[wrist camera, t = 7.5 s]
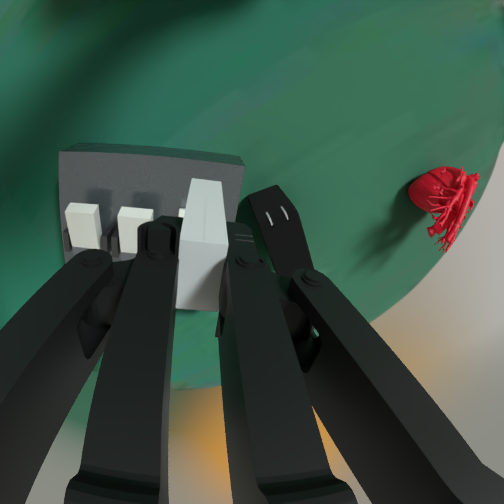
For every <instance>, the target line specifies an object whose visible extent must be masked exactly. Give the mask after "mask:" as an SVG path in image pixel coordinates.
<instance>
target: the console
mask: <svg viewBox="0 0 504 504" xmlns="http://www.w3.org/2000/svg"><path fill="white" fill-rule="evenodd" d="M244 170H245V165H244V163H243V162H242V160H241V158H240V156H233V155H226V154H219V153H211V152H203V151H194V150H185V149H175V148H165V147H153V146H139V145H122V144H98V143H78V144H76V145H73V146H71V147H68V148H66V149H64V150H61V151H59V202H60V218H61V231H62V241H63V249H64V257H65V264H66V263H67V262H68V261H69V260H70V259H71V258H73V257H74V253H73V249H72V243H71V239H70V235H69V230H68V226H67V221H66V216H65V210H66V209H67V207H68V205H69V204H70V203H84V204H97V205H98V206H99V215H100V222H101V230H102V235H101V248H102V250H104V251H107V252H109V253H110V255H111V256H112V261H113V262H116V261H122V259H121V249H120V239H119V229H118V218H117V216H118V213H119V211H120V209H121V207H133V208H143V209H153V221H155V220H156V219H157V218H158V217H160V216H161V215H164V216H174V217H179V209H180V208H186V203H187V198H188V194H189V189H190V184H191V180H192V178H195V179H204V180H212V181H220V182H221V184H222V193H223V202H224V211H225V219H226V221H228V222H235V219H236V214H237V208H238V203H239V197H240V192H241V186H242V181H243V176H244ZM218 310H219V305H218Z"/></svg>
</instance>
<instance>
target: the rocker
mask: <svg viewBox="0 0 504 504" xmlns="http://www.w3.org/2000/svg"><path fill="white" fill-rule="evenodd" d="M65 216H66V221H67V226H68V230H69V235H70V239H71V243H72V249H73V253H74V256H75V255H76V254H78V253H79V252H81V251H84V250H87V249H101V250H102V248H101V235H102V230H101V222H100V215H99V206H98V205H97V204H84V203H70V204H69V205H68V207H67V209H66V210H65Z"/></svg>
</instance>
